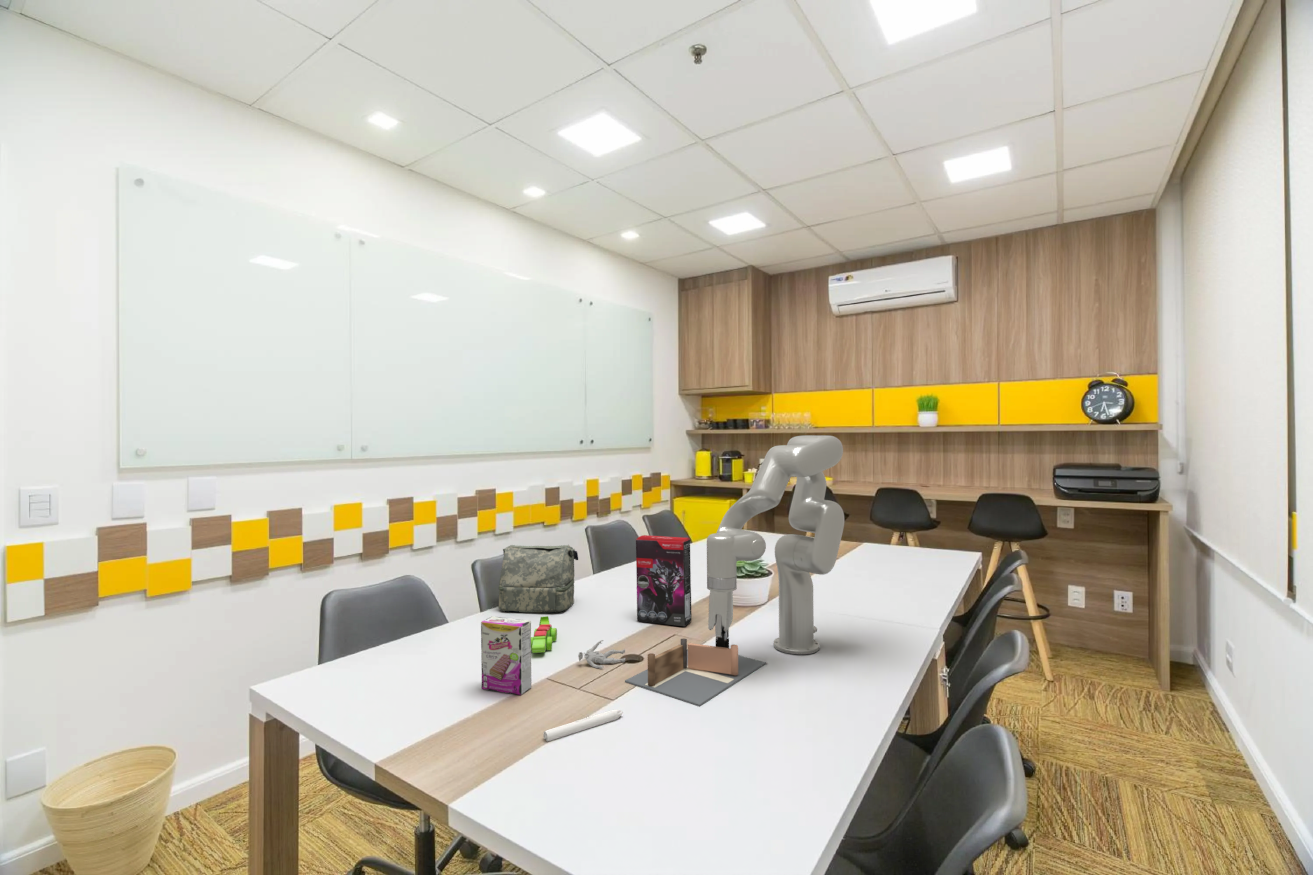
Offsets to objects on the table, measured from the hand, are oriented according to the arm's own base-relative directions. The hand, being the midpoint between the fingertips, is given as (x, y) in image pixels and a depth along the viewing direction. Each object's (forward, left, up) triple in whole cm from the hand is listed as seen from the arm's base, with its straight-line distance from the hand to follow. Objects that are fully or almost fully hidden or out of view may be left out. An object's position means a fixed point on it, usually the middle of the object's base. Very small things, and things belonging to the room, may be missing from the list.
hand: (722, 654), depth 154 cm
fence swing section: (+3, -1, -3) cm, 5 cm away
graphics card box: (-23, -36, -4) cm, 43 cm away
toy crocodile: (+15, -51, -5) cm, 54 cm away
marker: (+42, -7, -5) cm, 43 cm away
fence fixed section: (+12, -8, -4) cm, 15 cm away
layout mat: (+5, -4, -4) cm, 8 cm away
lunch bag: (-11, -82, -4) cm, 83 cm away
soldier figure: (+15, -28, -4) cm, 32 cm away
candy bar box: (+40, -35, -4) cm, 54 cm away
